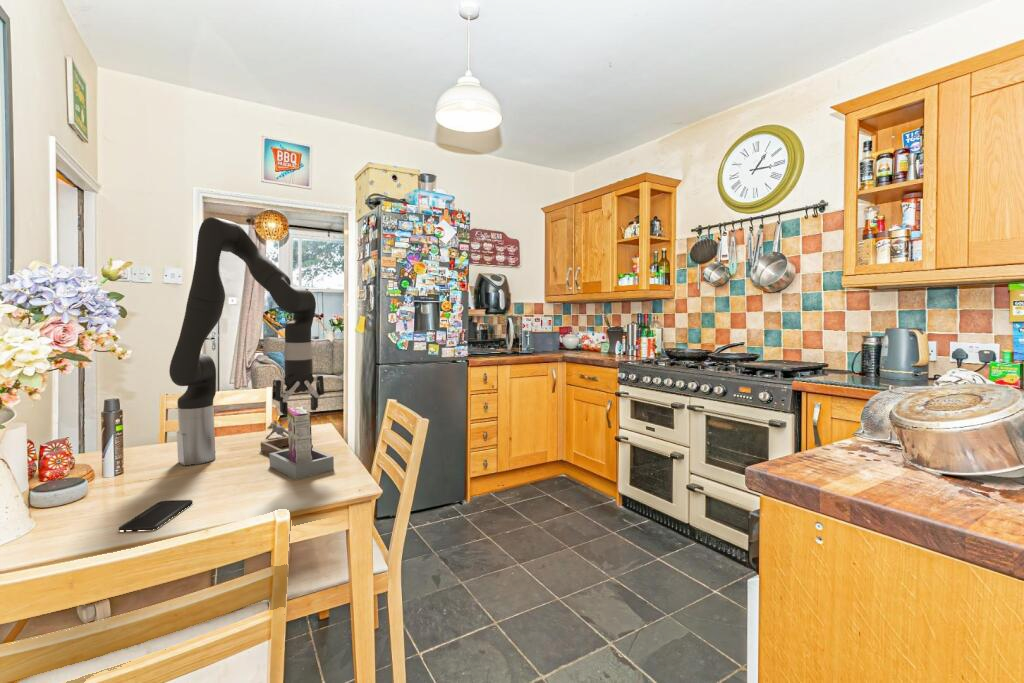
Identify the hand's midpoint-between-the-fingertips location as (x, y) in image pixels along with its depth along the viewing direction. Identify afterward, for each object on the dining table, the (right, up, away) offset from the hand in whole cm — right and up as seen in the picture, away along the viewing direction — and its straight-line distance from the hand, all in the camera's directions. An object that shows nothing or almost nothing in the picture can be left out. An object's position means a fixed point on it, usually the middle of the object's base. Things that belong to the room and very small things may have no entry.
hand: (299, 412), depth 142 cm
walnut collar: (-12, -16, +17) cm, 26 cm away
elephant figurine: (-22, -15, +36) cm, 45 cm away
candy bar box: (0, -16, +1) cm, 16 cm away
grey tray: (0, -17, +1) cm, 17 cm away
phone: (-18, -20, -32) cm, 42 cm away
